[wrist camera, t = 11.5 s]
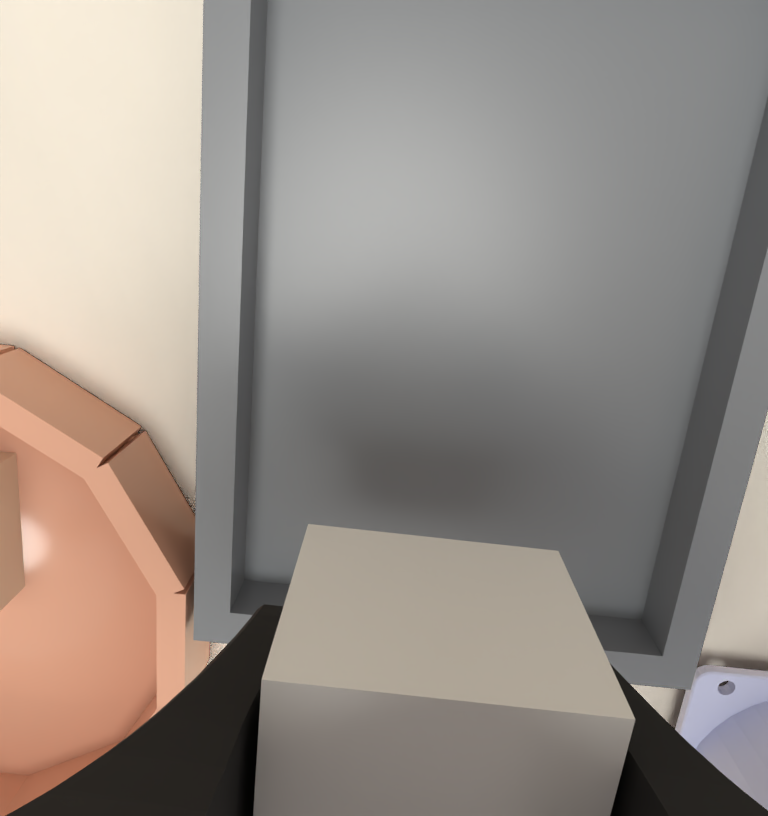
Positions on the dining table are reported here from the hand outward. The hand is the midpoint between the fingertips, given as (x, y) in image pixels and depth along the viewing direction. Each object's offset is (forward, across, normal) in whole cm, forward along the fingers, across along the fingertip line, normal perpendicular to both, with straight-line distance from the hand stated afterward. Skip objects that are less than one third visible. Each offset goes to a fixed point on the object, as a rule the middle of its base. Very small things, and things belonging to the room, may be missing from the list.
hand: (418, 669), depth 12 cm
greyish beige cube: (+1, 0, 0) cm, 1 cm away
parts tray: (+8, -1, -5) cm, 10 cm away
